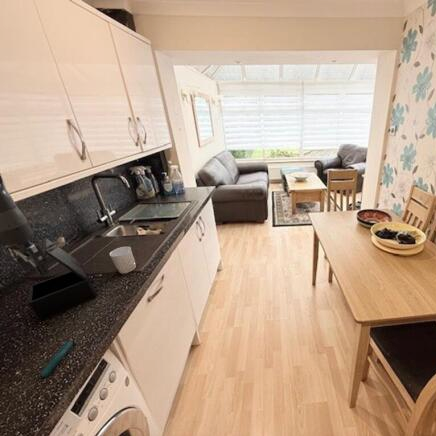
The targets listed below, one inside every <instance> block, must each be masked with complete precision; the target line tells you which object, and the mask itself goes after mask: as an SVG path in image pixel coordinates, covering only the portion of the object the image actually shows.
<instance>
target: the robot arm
mask: <svg viewBox="0 0 436 436" xmlns="http://www.w3.org/2000/svg"><path fill="white" fill-rule="evenodd" d="M34 235H35V232H34V230H33V229H32V227H31V225H30V224H29V222H28V220H27V218H26V217H25V215H24V213H23V212H22V210H21V209H20V208H19V207H18V206H17V204H16V202H15V201H14V199H13V198H12V195H11V194H10V193H9V191H8V189H7V188H6V184H5V181H4V179H3V177H2V174H1V173H0V247H3V248H4V250H5V252H6V253H7V255H8V256H9V258H10V259H13V260H14V261H15V262H17V264H18V265H19V266H20V268H21V270H22V271H23V272H28V271H31V270H32V269H35V271H36V272H37V274H38V276H39V277H45V276H47V275H49V274H50V273H51V270H50V269H49V267H48V266H47V264H46V263H48V262H49V259H48V258H47V256H46V254H45V253H44V250H43V249H42V248H41V247H40V245H39V244H38V243H35V244H34V243H33V242H30V239H31V238H32V237H34Z"/></svg>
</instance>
